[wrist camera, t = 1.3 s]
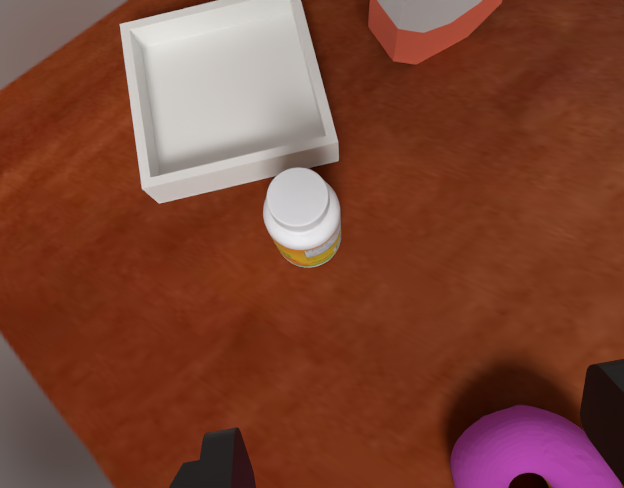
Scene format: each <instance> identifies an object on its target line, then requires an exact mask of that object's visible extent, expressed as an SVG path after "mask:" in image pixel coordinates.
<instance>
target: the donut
mask: <svg viewBox="0 0 624 488" xmlns="http://www.w3.org/2000/svg"><path fill="white" fill-rule="evenodd" d="M450 465H451V473H452V477H453V482H454V486H455V488H508V487H509V484H510V482H511V481H512V480H513V479H514V478H515V477H516V476H518V475H520V474H523V473H536V474H538V475H540V476H542V477H543V478H544V479H545V481H546V482H547V485H548V488H622V485H621V483H620V481H619V479H618V478H617V477H616V475H615V474H614V473H613V471H612V470H611V469H610V467H609V466H608V464H607V463H606V462H605V460H604V459H603V458H602V456H601V455H600V454H599V452H598V451H597V450H596V448H595V447H594V446H593V444H592V443H591V441H590V440H589V439H588V437H587V435H586V433H585V431H583V430H582V429H581V428H580V427H578V426H577V425H576V424H574V423H572V422H571V421H569V420H568V419H566V418H564V417H562V416H560V415H557V414H555V413H552V412H550V411H547V410H543V409H540V408H537V407H533V406H527V405H515V406H513V407H510V408H507V409H503V410H500V411H497V412H494V413H491V414H488V415H485V416H483V417H481V418H480V419H479V420H478V421H477V422H475V423H474V424H472V425H471V426H470V427H469V428H468V429H466V430H465V431H464V433H463V434H462V435H461V436H460V437H459V438H458V440H457V442H456V443H455V445H454V447H453V450H452V454H451V461H450Z"/></svg>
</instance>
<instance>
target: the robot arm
mask: <svg viewBox="0 0 624 488" xmlns="http://www.w3.org/2000/svg"><path fill="white" fill-rule="evenodd" d="M580 417H581V422H582V426H583V428H584V431H585V433H586V435H587V437H588V439H589V440H590V441H591V443H592V444H593V446H594V447H595V448H596V450H597V451H598V452H599V454H600V455H601V456H602V458H603V459H604V460H605V462H606V463H607V464H608V466H609V467H610V469H611V470H612V471H613V473H614V474H615V475H616V477H617V478H618V479H619V481H620V482H621V483H622V485H623V486H624V359H621V360H615V361H610V362H604V363H598V364H593V365H590V366H589V367H588V369H587V372H586V378H585V384H584V391H583V397H582V403H581V409H580ZM169 488H256V485H255V478H254V473H253V469H252V466H251V463H250V460H249V456H248V453H247V450H246V447H245V444H244V441H243V438H242V435H241V432H240V430H239V428H232V429H226V430H221V431H215V432H209V433H205V435H204V437H203V441H202V448H201V455H200V460H197V461H192V462H186V463H183V465H182V466H181V468H180V470H179V471H178V473H177V475H176V476H175V478H174V480H173V482H172V483H171V485H170V487H169Z"/></svg>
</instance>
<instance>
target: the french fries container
mask: <svg viewBox="0 0 624 488" xmlns="http://www.w3.org/2000/svg"><path fill="white" fill-rule="evenodd" d="M501 3H502V0H370V5H369V20H368V27H369V29H370V30H371V31H372V33H373V34H374V36H375V37H376V38H377V40H378V41H379V42H380V44H381V45H382V47H383V48H384V49H385V51H386V52H387V54H388V55H389V56H390V58H391V59H392V61H394V62H401V63H408V64H416V65H417V64H418V63H420V62H422V61H424V60H426V59H428V58H429V57H431V56H433V55H435V54H437V53H439V52H441V51H442V50H444V49H446V48H448V47H450V46H452V45H453V44H455V43H457V42H459V41H461V40H463V39H465V38H466V37H468V36H469V35H470V34H471V33H472V32H473V31H474V30H475V29H476V28H477V27H478V26H479V25H480V24H481V23H482V22H483V21H484V20H485V19H486V18H487V17H488V16H489V15H490V14H491V13H492V12H493V11H494V10H495V9H496V8H497V7H498V6H499V5H500V4H501Z"/></svg>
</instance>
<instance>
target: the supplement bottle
mask: <svg viewBox="0 0 624 488" xmlns="http://www.w3.org/2000/svg"><path fill="white" fill-rule="evenodd" d="M263 217H264V222H265V225H266V228H267V230H268V232H269V234H270V235H271V237H272V239H273V241H274V242H275V244H276V246H277V247H278V249H279V251H280V252H281V254H282V255H283V256H284V257H285V258H286V259H287V260H288V261H289V262H291V263H292V264H295V265H297V266H300V267H315V266H319V265H321V264H324V263H325V262H327V261H328V260H330V259H331V258H332V257H333V255H334V254H335V253H336V251H337V250H338V247H339V245H340V241H341V211H340V204H339V201H338V198H337V195H336V193H335V192H334V190H333V189H332V188H331V186H330V185H329V184H327V183H326V182H325V181H324V180H323V179H322V178H321V176H320V175H318V174H317V173H316V172H314V171H312V170H310V169H307V168H300V167H297V168H290V169H287V170H285V171H283V172H281V173H279V174H278V175H277V176H276V177H275V178H274V179H273V180H272V182H271V183H270V185H269V187H268V191H267V197H266V200H265V203H264V208H263Z"/></svg>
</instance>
